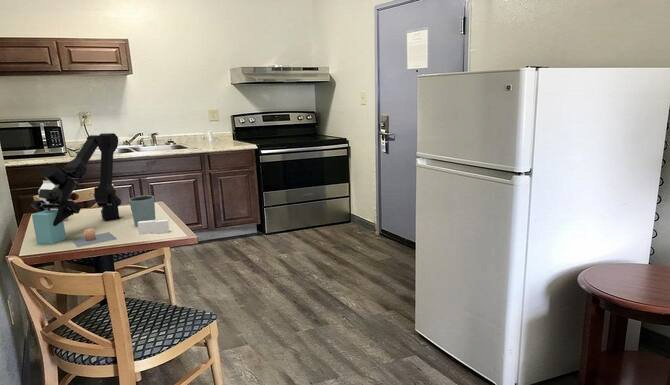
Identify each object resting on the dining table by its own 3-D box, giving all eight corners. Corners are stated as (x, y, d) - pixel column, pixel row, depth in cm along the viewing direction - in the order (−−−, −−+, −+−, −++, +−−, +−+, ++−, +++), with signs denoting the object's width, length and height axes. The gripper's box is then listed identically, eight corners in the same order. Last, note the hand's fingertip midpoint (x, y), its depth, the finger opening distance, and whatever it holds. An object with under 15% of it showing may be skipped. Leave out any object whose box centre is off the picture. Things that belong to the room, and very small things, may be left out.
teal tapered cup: (161, 221, 206) (158, 195, 204) (151, 227, 197) (148, 200, 194) (138, 221, 207) (135, 195, 204) (128, 228, 197) (124, 200, 194)
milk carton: (57, 223, 209) (50, 182, 205) (43, 223, 211) (36, 182, 207) (68, 219, 216) (62, 179, 212) (55, 219, 218) (49, 179, 214)
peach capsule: (94, 237, 185) (93, 227, 184) (96, 239, 182) (95, 229, 181) (84, 239, 182) (83, 229, 182) (86, 241, 180) (85, 231, 179)
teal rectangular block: (51, 238, 186) (46, 209, 183) (66, 239, 184) (61, 210, 182) (37, 244, 179) (31, 214, 177) (52, 245, 178) (47, 214, 175)
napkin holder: (130, 236, 187) (128, 222, 186) (152, 228, 197) (150, 215, 196) (158, 239, 181) (156, 225, 180) (179, 231, 191) (177, 218, 190)
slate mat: (109, 232, 191) (108, 232, 191) (117, 239, 181) (117, 238, 181) (70, 240, 183) (70, 239, 183) (77, 248, 173) (77, 247, 173)
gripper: (30, 180, 183) (10, 214, 174) (70, 180, 178) (51, 215, 170) (49, 195, 192) (31, 228, 184) (88, 195, 188) (71, 230, 179)
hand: (46, 225), depth 179 cm, fingers closed on teal rectangular block, 7 cm apart
